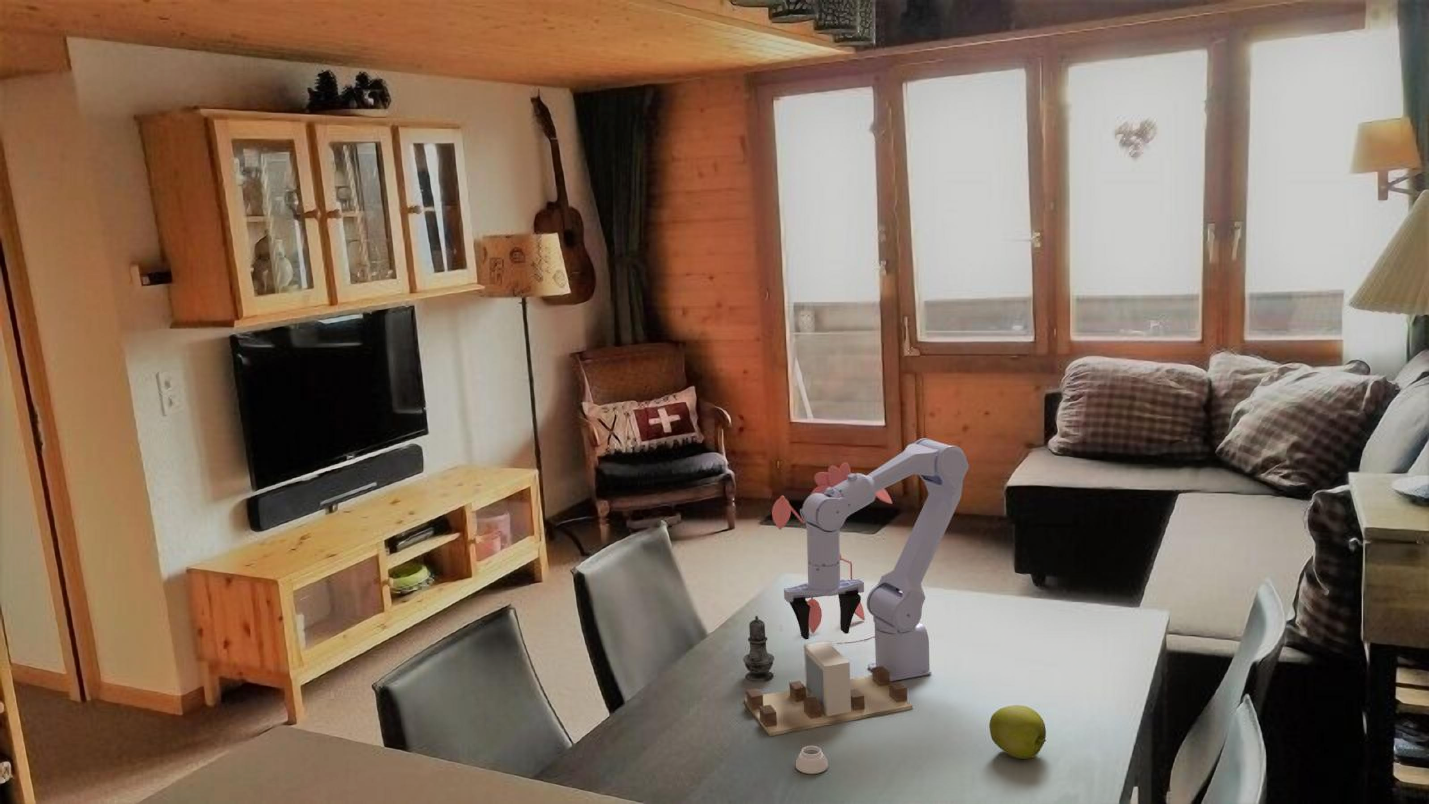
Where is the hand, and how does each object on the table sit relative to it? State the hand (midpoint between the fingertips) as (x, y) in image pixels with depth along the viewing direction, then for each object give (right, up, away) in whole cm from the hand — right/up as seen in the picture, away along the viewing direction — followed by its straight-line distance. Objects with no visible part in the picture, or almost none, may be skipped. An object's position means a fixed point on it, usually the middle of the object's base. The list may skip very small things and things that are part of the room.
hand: (824, 634), depth 197 cm
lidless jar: (-5, -16, -25) cm, 30 cm away
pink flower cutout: (+6, -5, +29) cm, 30 cm away
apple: (+28, -14, -25) cm, 40 cm away
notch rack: (0, -11, -4) cm, 12 cm away
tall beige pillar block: (0, -11, -5) cm, 12 cm away
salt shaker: (-11, -10, +9) cm, 17 cm away
